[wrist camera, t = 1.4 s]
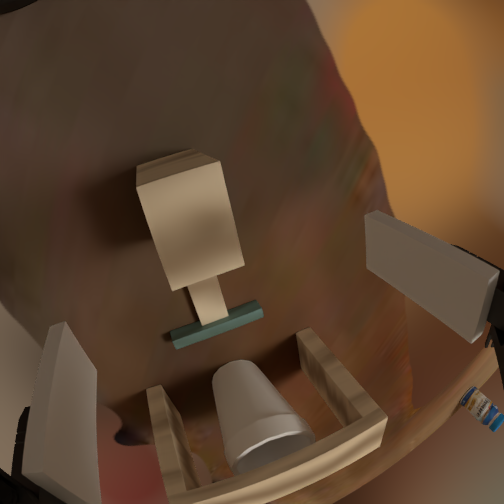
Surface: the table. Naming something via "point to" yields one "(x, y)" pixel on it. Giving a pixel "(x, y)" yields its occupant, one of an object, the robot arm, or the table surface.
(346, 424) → the shelf
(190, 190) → the squeegee
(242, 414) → the foam cup
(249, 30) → the table surface
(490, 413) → the beverage bottle
